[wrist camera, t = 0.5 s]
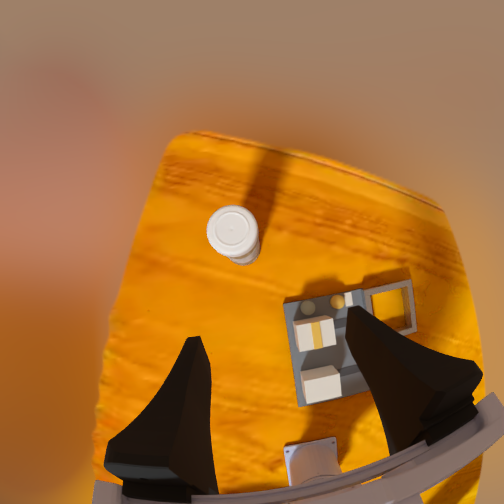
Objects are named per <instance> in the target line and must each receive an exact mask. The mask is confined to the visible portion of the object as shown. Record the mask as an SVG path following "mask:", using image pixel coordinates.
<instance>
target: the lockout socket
mask: <svg viewBox="0 0 504 504" xmlns="http://www.w3.org/2000/svg"><path fill="white" fill-rule="evenodd" d="M398 288H401V289H402V297H403V305H404V313H405V323H406V326H404V327H400V328H397V329H394V330H395V331H396V332H398V333H400V334H401V335H403V336H405V335H408V334H411V333H414V332H417V325H416V314H415V305H414V297H413V289H412V282H411V279H406V280H401V281H397V282H393V283H389V284H385V285H380V286H376V287H372V288H367V289H363V290H361V294H362V301H363V308H364V309H365V310H366V311H368V312H369V313H370V314H372V315H373V312H372V304H371V297H370V295H373V294H377V293H381V292H386V291H390V290H394V289H398Z"/></svg>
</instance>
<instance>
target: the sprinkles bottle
mask: <svg viewBox="0 0 504 504" xmlns="http://www.w3.org/2000/svg"><path fill="white" fill-rule="evenodd" d="M258 234H259V231H258V225H257V222H256V219H255V217H254V216H253V214H252V213H251V212H250V211H249V210H247V209H246V208H244V207H242V206H238V205H228V206H224V207H222V208H220V209H218V210H217V211H215V212H214V213H213V215H212V216H211V217H210V219H209V222H208V225H207V237H208V240H209V242H210V244H211V245H212V247H213V248H214V249H215V250H216V251H218V252H219V253H220V254H222V255H224V256H227V257H228V258H229V259H231V261H233V262H234V263H236V264H238V265H243V266H244V265H249V264H251V263H253V262H254V261H255V260H256V259H257V258H258V256H259V254H260V244H259V237H258Z"/></svg>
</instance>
